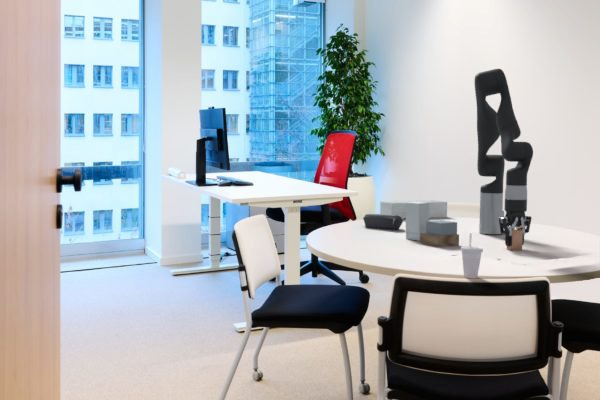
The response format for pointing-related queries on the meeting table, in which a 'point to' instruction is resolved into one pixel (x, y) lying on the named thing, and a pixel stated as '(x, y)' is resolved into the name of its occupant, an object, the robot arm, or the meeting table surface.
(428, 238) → the tower base
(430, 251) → the meeting table surface
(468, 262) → the smoothie
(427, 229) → the tower top
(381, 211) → the long grey block
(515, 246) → the peach capsule
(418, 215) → the skincare box
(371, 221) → the glasses case
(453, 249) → the meeting table surface
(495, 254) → the meeting table surface
